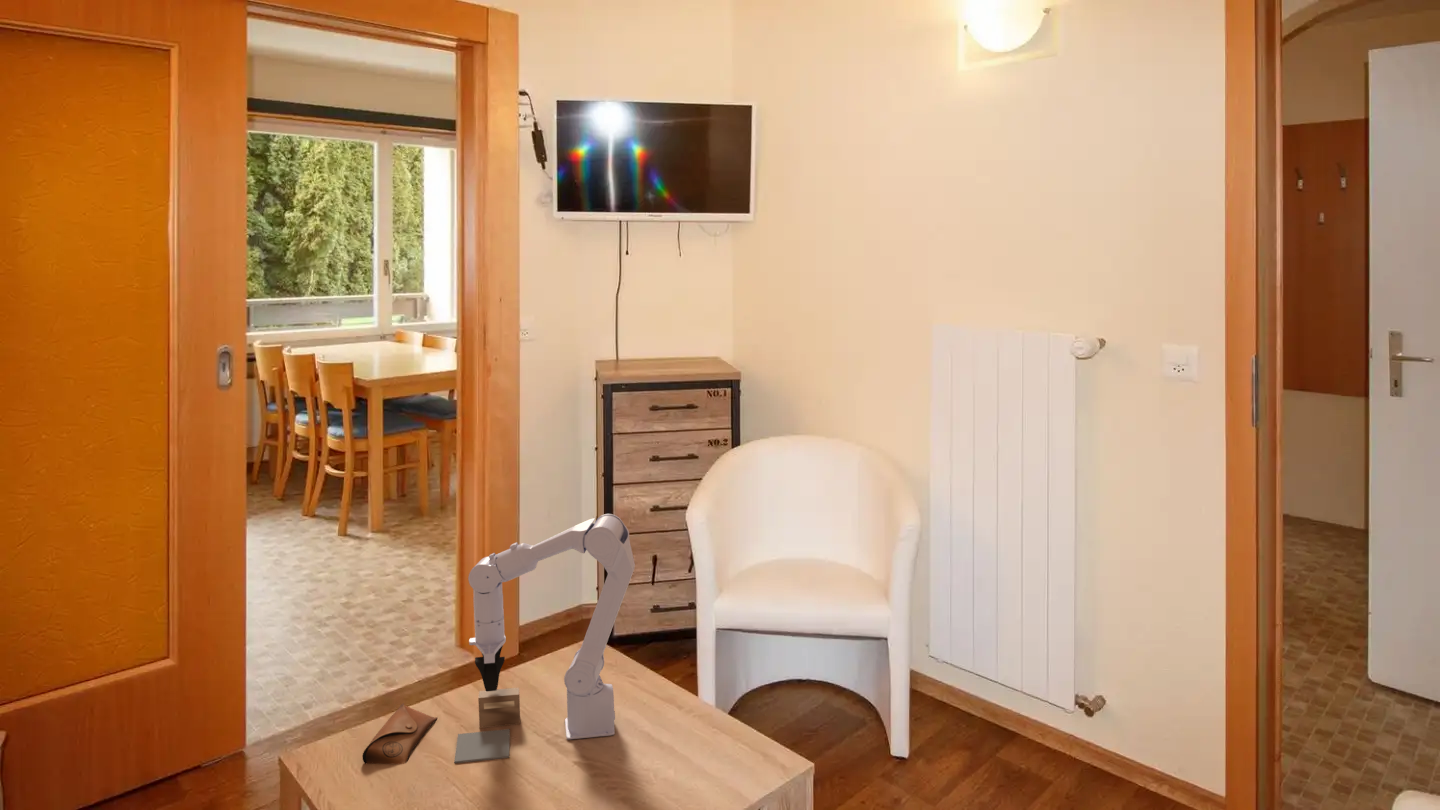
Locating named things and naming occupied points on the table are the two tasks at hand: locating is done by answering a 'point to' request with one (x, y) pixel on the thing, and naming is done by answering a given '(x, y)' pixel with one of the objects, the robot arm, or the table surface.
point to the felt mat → (482, 746)
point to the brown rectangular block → (499, 707)
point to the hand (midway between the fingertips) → (491, 681)
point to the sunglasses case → (398, 737)
